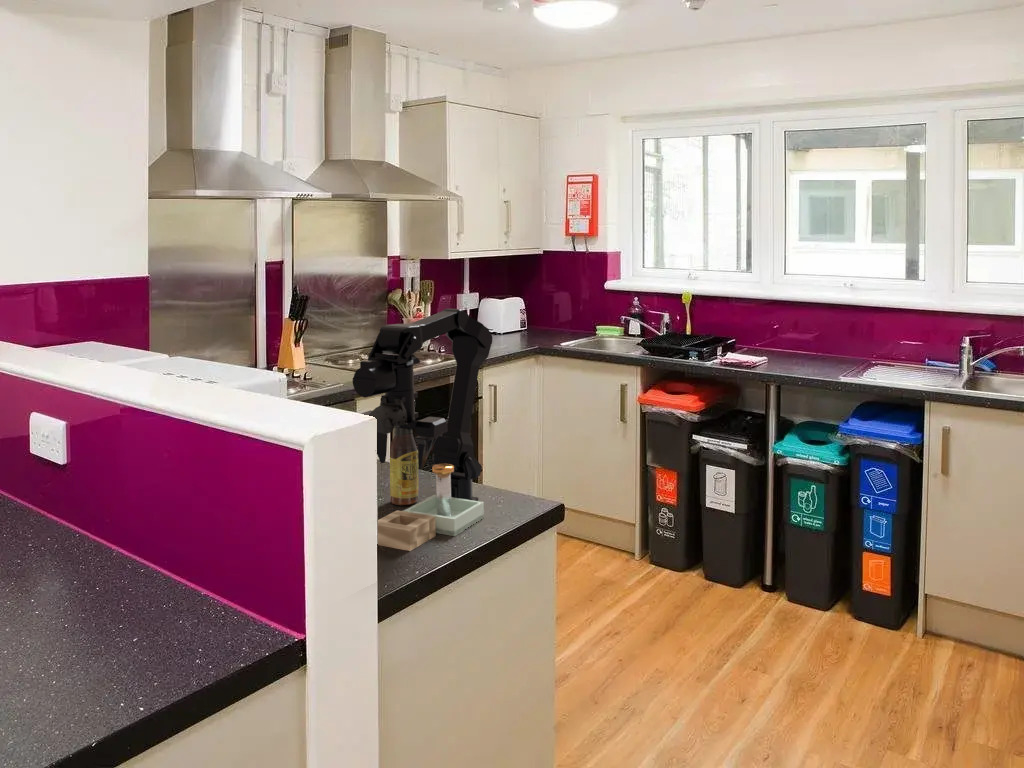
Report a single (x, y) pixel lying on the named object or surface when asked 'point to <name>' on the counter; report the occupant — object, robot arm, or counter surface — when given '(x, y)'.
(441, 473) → the orange-capped jar
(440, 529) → the sage tray
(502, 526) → the counter surface
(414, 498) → the sauce bottle
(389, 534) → the block
